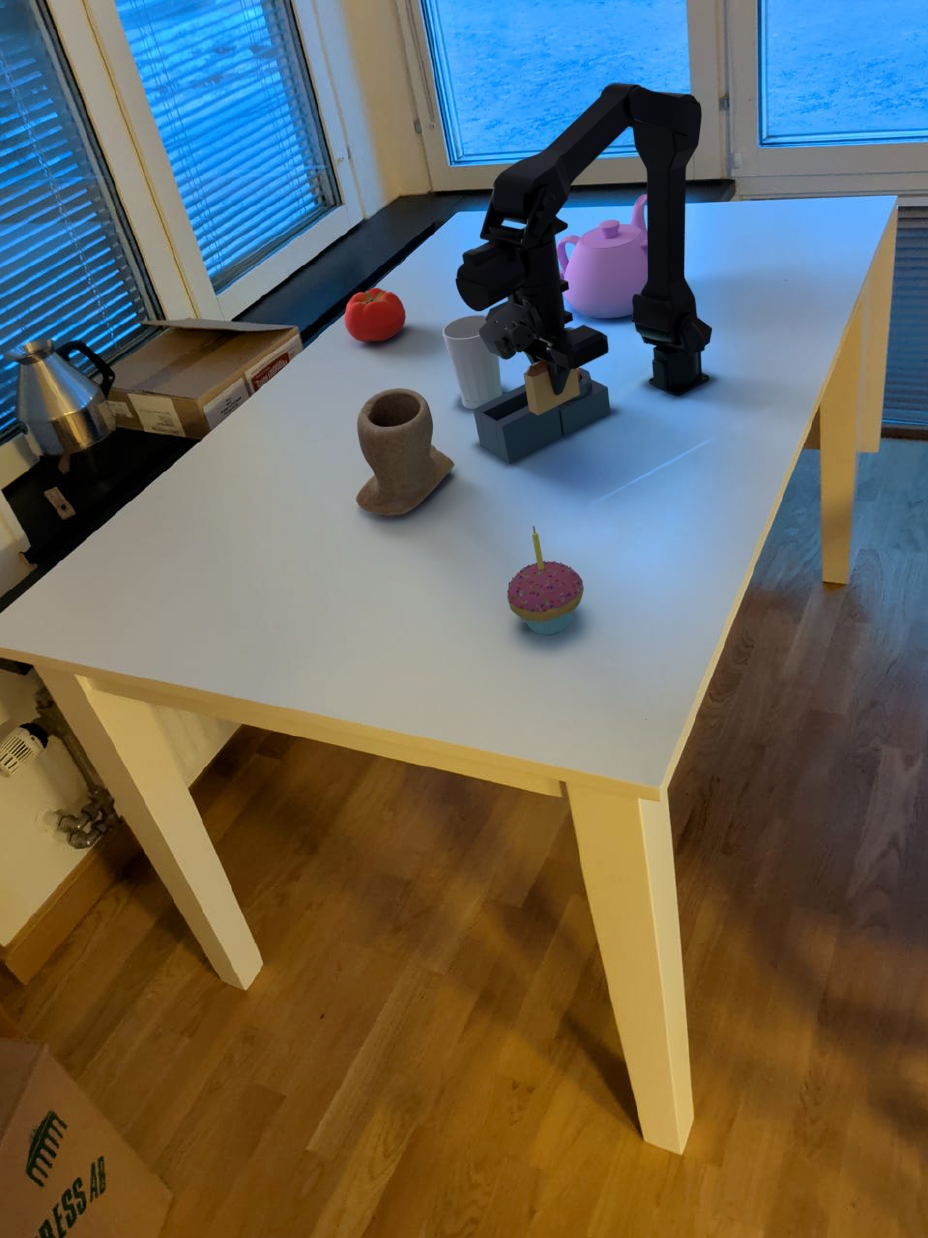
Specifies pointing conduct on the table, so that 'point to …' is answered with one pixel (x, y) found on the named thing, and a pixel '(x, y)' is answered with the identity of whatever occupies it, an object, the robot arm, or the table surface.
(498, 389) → the cup
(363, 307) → the tomato
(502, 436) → the toaster
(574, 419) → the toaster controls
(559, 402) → the tan slab
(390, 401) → the stone cup
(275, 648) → the table surface
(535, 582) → the cupcake
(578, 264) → the teapot
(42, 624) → the table surface
